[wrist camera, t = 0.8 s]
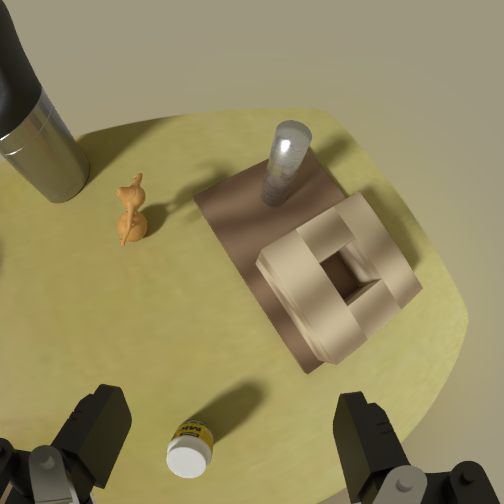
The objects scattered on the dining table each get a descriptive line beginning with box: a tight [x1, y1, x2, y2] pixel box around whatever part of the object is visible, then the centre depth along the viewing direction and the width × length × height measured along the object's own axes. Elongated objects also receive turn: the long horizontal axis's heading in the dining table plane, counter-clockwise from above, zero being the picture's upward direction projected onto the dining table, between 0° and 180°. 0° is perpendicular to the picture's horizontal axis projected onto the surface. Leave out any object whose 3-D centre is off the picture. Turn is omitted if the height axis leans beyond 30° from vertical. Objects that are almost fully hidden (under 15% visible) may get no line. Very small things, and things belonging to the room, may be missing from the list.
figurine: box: [117, 173, 147, 245], centre depth 30 cm, size 8×6×12 cm
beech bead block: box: [256, 191, 423, 365], centre depth 32 cm, size 14×14×6 cm
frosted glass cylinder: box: [260, 120, 312, 207], centre depth 31 cm, size 3×3×13 cm
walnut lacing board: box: [194, 149, 359, 374], centre depth 36 cm, size 26×18×2 cm
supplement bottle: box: [167, 420, 214, 478], centre depth 25 cm, size 5×5×8 cm
